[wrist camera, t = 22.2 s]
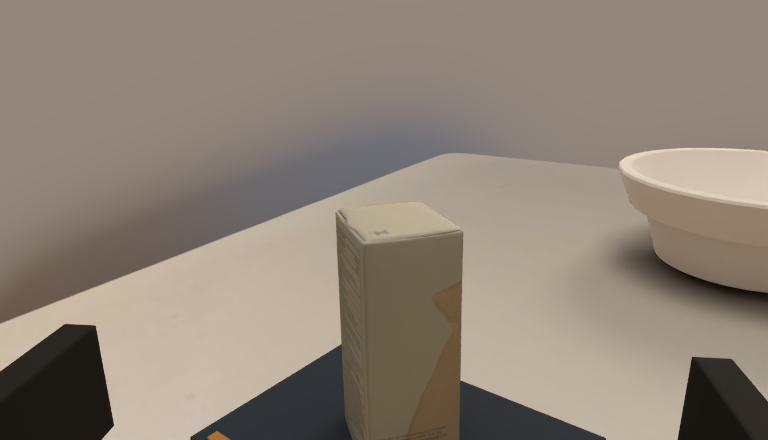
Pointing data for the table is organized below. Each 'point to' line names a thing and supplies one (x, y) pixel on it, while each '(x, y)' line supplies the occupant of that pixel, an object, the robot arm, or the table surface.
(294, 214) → the table surface
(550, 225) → the table surface
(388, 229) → the box
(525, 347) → the table surface
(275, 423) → the desk mat
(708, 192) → the bowl
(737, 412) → the robot arm
